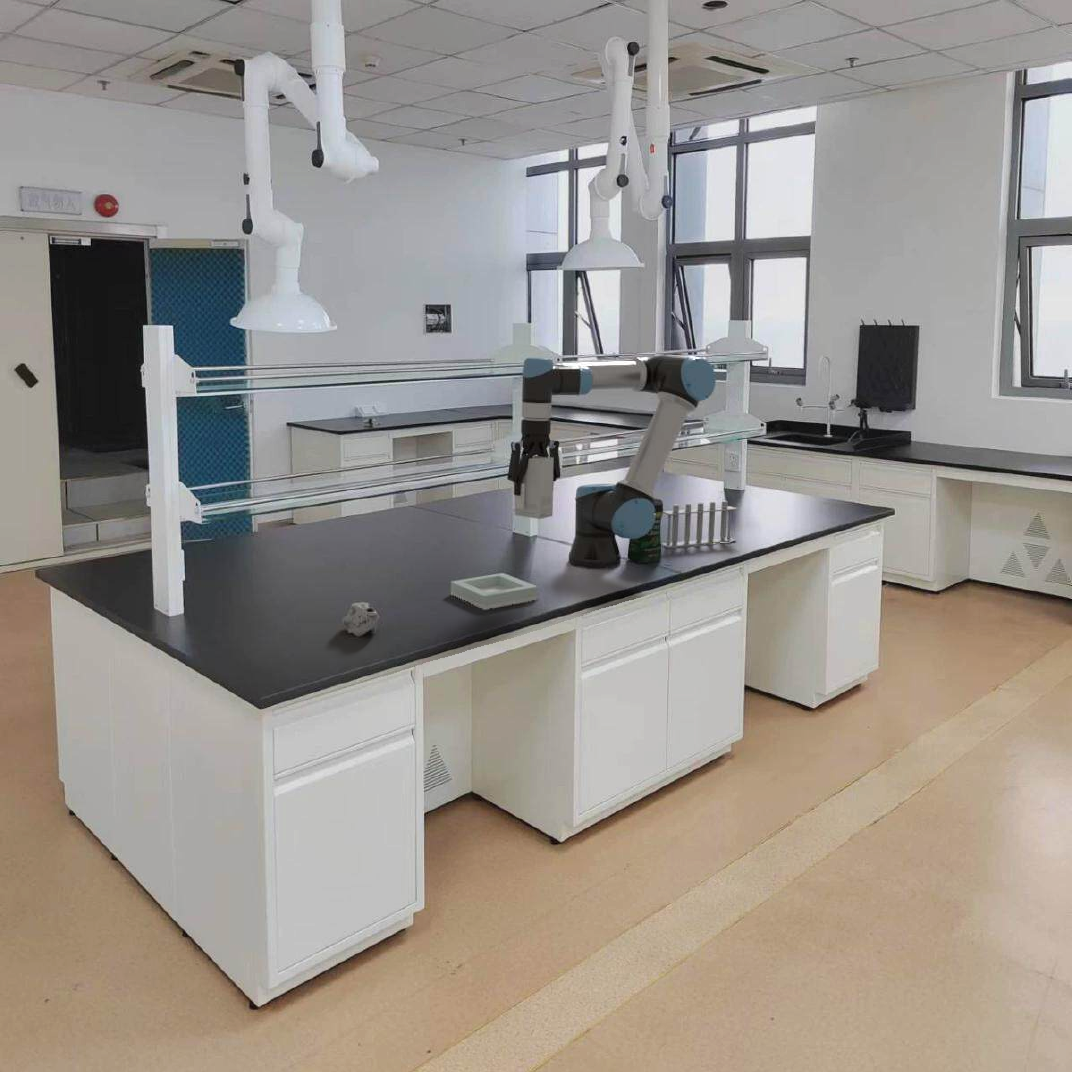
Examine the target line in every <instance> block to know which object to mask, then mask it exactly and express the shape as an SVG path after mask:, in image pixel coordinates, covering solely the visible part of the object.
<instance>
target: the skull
mask: <svg viewBox="0 0 1072 1072" xmlns="http://www.w3.org/2000/svg"><path fill="white" fill-rule="evenodd" d="M378 621H380V616H379V614H378V612H377V611H376V610H375V608H374V607H370V603H368V602H365V601H364V602H363V601H361V602H353V603H352V604H351V606H350V609H349V610H348V612H347V615H346V616H344V617H342V619H341V622H342V625H343V627H344V628H345V629H347V633H348V634H354V636H356V637H357V638H358V637H361V636H363V635H365V634H366V633H367V632H369V631H372V632H373V633H376V631H377V626H378Z"/></svg>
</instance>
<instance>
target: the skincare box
mask: <svg viewBox="0 0 1072 1072" xmlns="http://www.w3.org/2000/svg"><path fill="white" fill-rule="evenodd" d="M521 457H522V456H521V455H520V460H521V459H522V458H521ZM553 459H554V458H553V457H550V456H548V457H541V456H538V455H535V456H533V457H532V458H529V461H528V467H527V470H526V473H525V476H524V478H523V481H522V483H524V484H525V491H524V509H520V508H517V507H516V495H514V516H518V517H523V518H524V517H525V518H530V519H536V520H537V519H538V520H541V519H545V518H546V519H547V518H550V517H552V516H553V512H554V511H553V505H554V504H553V503H554V502H553V500H554V486H553ZM519 463H520V461H519Z"/></svg>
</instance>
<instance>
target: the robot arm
mask: <svg viewBox="0 0 1072 1072" xmlns="http://www.w3.org/2000/svg"><path fill="white" fill-rule="evenodd" d="M521 376H522V386H521V388H522V394H521V395H522V396H521V398H522V400H521V417H522V418H523V419H522V420H521V423H520V424H521V425H520V427H521V428H520V429H521V430H520V433H521V438H520V440H519V441H516V442H515V441H512V442H511V443H510V448H511V453H510V459H509V466H508V470H507V471H508V472H507V476H506V479H507V480H508V481H510V482H513V495H514V496H515V495H516V507H517V508H520V509H524V491H525V484H524V483H522V481H523V478H524V476H525V473H526V470H527V467H528V461H529V458H532V457H533V456H541V457H553V458H554V459H553V487H554V483H555V482H557V479H560V478H561V468H560V465H561V464H560V455H559V447H560V441H559V440H555V439H551V438H550V434H551V425H552V424H551V423H552V422H551V420H550V419H551V418H552V397H553V396H581V395H582V396H583V395H588V394H589V393H590V392H591V390H621V389H623V390H624V389H625V390H626V389H630V390H631V391H632V392H636V393H638V392H642V393H651V394H655V395H657V398H658V405H657V406H656V409H655V410H654V413H653V415H652V418H651V420H650V422H649V424H648V426H647V429H646V431H645V433H644V435H643V438H642V440H641V442H640V444H639V447H638V449H637V451H636V453H635V455H634V457H633V460H632V462H631V464H630V466H629V468H628V471H627V473H626V475H625V477H624V479H621V480H619V481H617V482H616V483H594V484H593V483H592V484H583V485H580V486H578V487H577V488H576V492H575V499H574V500H575V518H574V519H575V522H574V524H575V525H574V526H575V529H574V539H573V542H572V545H571V548H570V551H569V552H568V563H569V564H570V565H571V566H574V567H578V568H583V569H594V570H595V569H597V570H598V569H599V570H600V569H610V568H615V567H618V566H620V565H621V560H622V559H621V558H622V557H621V553H620V548H619V545H618V542H617V538H616V536H617V537H619V538H622V539H628V540H630V539H637V538H640V537H642V536H644V535H645V534H647V533H648V532H649V531H650V529H651V528H652V526H653V524H654V522H655V517H656V514H655V513H654V512H655V508H654V506H653V504H654V501H655V498H656V497H655V494H654V490H655V487H656V485H657V483H658V481H659V479H660V477H661V475H662V472H663V470H664V468H665V465H666V463H667V461H668V459H669V457H670V455H671V452H672V450H673V448H674V446H675V443H676V441H677V439H678V437H679V435H680V432H681V430H682V428H683V426H684V423H685V421H686V419H687V417H688V415H689V414H691V413H693V412H696V411H697V409H698V405H699V403H700V402H702V401H705V400H707V399H709V398H710V397H711V396H712V394H713V393H714V391H715V389H716V388H715V387H716V383H717V382H716V381H717V380H716V379H717V378H716V374H715V370H714V367H713V366H712V364H711V363H710V362H709V361H708V360H707V359H705V358H703V357H698V356H697V355H696V356H695V355H689V356H688V355H677V354H676V355H675V354H660V355H654V356H644V357H634V358H632V359H630V360H629V361H590V362H587V361H583V362H581V361H580V362H553V359H552V358H550V357H526V358H525V359H524V361H523V366H522V375H521ZM520 456H522V457H521V458H522V459H521V460H520ZM519 461H520V463H519Z"/></svg>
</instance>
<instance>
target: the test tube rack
mask: <svg viewBox="0 0 1072 1072" xmlns="http://www.w3.org/2000/svg"><path fill="white" fill-rule="evenodd" d="M716 505H717V504H716V501H710V503H709V507H704V503H703V502H697V508H692V503H686V504H685V508H684V509H680V504H673V506H672V510H665V511H664V510H663V514H664V515H667V535H666V539H667V540H666V542H663V543H661V545H662V546H661V547H663V546H664V547H663V548H665V547H666V548H665V549H667V548H670V549H678V548H677V547H681V548H688V547H687V546H691V547H696V546H695V545H702V546H705V545H704V544H712V545H714V544H713V543H720V542H729V541H736V542H737V540H736V539H734V538H731V526H732V525H731V524H732V512H733V511H738V510H739V508H737V507H734V506H730V505H728V500H722V501H721V506H716ZM716 512H720V514H721V515H720V533H719V538H717V537H716V538H715V519H716ZM704 513H708V514H709V516H708V517H709V518H708V535H707V536H708V538H705V539H703V523H704V521H703V520H704ZM692 514H697V516H696V537H695V538H696V540H695V539H694V540H690V539H691V519H692V518H691V517H692ZM679 515H684V516H685V517H684V530H683V531H684V533H683V534H684V535H683V536H684V537H683V540H682V541H678V539H679V538H678V534H679ZM727 517H728V520H727ZM671 518H672V527H671Z"/></svg>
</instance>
